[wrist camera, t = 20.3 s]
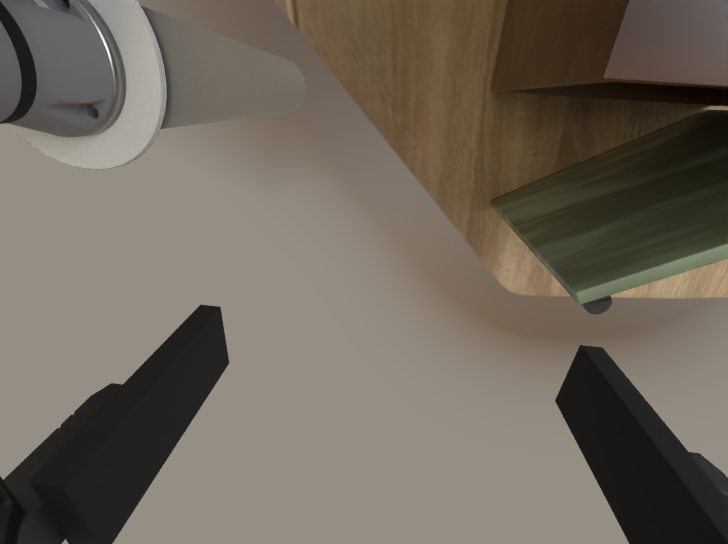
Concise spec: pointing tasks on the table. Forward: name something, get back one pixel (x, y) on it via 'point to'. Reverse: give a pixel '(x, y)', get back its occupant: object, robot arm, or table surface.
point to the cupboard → (616, 50)
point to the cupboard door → (630, 211)
